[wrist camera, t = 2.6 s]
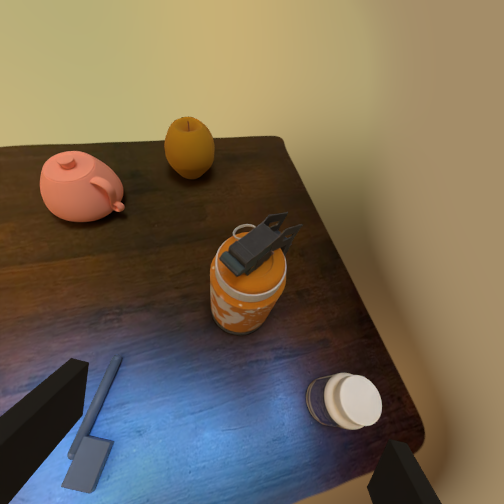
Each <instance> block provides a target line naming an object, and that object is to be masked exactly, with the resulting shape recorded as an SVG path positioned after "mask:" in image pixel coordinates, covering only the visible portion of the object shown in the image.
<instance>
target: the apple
mask: <svg viewBox="0 0 504 504" xmlns="http://www.w3.org/2000/svg"><path fill="white" fill-rule="evenodd" d="M164 146H165V154H166V158H167V160H168V162H169V164H170V165H171V167H172V168H173V169H174V170H175V171H176V172H177V173H178V174H180V175H181V176H182V177H184V178H187V179H197V178H199V177H201V176H202V175H203V174H204V173H205V172H206V171H207V170H208V169H209V168H210V167H211V165H212V163H213V161H214V148H215V146H214V141H213V137H212V135H211V133H210V131H209V129H208V128H207V127H206V126H205V125H204V124H203V123H202V122H200V121H199V120H197V119H195V118H193V117H182V118H180V119H177V120H175V121H174V122H173V123H172V124H171V126H170V127H169V129H168V132H167V135H166V138H165V144H164Z"/></svg>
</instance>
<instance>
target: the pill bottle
mask: <svg viewBox="0 0 504 504" xmlns="http://www.w3.org/2000/svg"><path fill="white" fill-rule="evenodd" d="M306 401H307V406H308V409H309V411H310V413H311V414H312V416H313V417H314V418H315V419H316V420H317V421H318V422H320V423H322V424H324V425H327V426H333V427H338V428H344V429H350V430H355V429H359V428H362V427H363V426H370V425H372V424H374V423H375V422H376V421H377V420H378V419H379V417H380V415H381V411H382V403H381V398H380V395H379V392H378V390H377V389H376V387H375V386H374V385H373V383H372V382H370V381H369V380H368V379H366V378H365V377H363V376H359V375H352V374H349V373H338V374H334V375H330V376H325V377H321V378H318V379H316V380H314V381H313V382H312V383H311V384H310V386H309V387H308V390H307V394H306Z"/></svg>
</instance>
